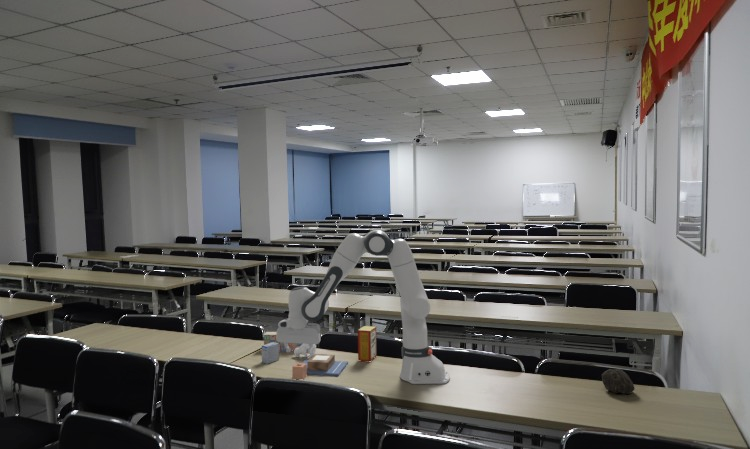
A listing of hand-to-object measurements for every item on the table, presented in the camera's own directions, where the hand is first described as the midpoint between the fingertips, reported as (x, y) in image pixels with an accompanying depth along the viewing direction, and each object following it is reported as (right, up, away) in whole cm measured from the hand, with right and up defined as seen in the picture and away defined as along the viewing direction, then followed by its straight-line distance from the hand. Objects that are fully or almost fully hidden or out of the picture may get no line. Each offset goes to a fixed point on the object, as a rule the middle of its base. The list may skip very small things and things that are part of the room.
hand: (298, 352), depth 220 cm
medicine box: (-18, -11, +25) cm, 33 cm away
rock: (+135, -11, -21) cm, 137 cm away
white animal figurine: (-2, -11, +31) cm, 33 cm away
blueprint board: (+9, -11, +13) cm, 19 cm away
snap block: (+1, -12, 0) cm, 12 cm away
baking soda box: (+31, -11, +27) cm, 43 cm away
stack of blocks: (-15, -11, +46) cm, 49 cm away
